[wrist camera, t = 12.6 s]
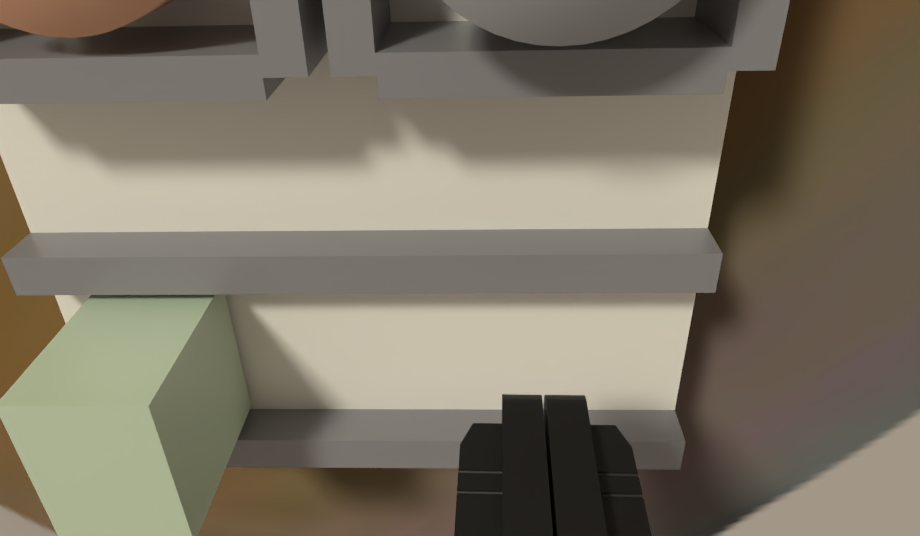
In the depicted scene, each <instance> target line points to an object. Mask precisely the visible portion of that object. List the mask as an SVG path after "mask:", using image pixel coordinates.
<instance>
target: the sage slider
mask: <svg viewBox="0 0 920 536" xmlns="http://www.w3.org/2000/svg"><path fill="white" fill-rule="evenodd" d="M250 408H251V402H250V398H249V394H248V389H247V385H246V381H245V377H244V372H243V368H242V364H241V360H240V355H239V351H238V347H237V343H236V338H235V334H234V330H233V326H232V321H231V317H230V313H229V309H228V304H227V300H226V296H225V295H91V296H90V297H89V298H88V299H87V300H86V301H85V303H84V304H83V305H82V306H81V307H80V308H79V310H78V311H77V312H76V313H75V314H74V315H73V316H72V318H71V319H70V320H69V321H68V322H67V323H66V324H65V326H64V327H63V328H62V329H61V330H60V331H59V333H58V334H57V335H56V336H55V337H54V338H53V339H52V341H51V342H50V343H49V344H48V345H47V346H46V347H45V349H44V350H43V351H42V352H41V353H40V354H39V355H38V357H37V358H36V359H35V360H34V361H33V362H32V364H31V365H30V366H29V367H28V368H27V369H26V370H25V372H24V373H23V374H22V375H21V376H20V377H19V378H18V380H17V381H16V382H15V383H14V384H13V385H12V387H11V388H10V389H9V390H8V391H7V392H6V393H5V395H4V396H3V397H2V398H1V399H0V418H1V420H2V422H3V424H4V426H5V428H6V430H7V432H8V434H9V436H10V438H11V440H12V442H13V444H14V446H15V449H16V451H17V453H18V455H19V457H20V459H21V461H22V463H23V465H24V467H25V469H26V471H27V473H28V475H29V477H30V479H31V481H32V483H33V485H34V487H35V490H36V492H37V494H38V496H39V498H40V500H41V502H42V504H43V506H44V508H45V510H46V512H47V514H48V516H49V518H50V520H51V522H52V524H53V526H54V528H55V530H56V533H57V535H58V536H198V534H199V531H200V529H201V527H202V524H203V522H204V519H205V517H206V514H207V512H208V510H209V507H210V505H211V502H212V500H213V497H214V495H215V493H216V490H217V488H218V485H219V483H220V481H221V478H222V476H223V473H224V471H225V468H226V466H227V464H228V461H229V459H230V456H231V454H232V451H233V449H234V447H235V444H236V442H237V439H238V437H239V435H240V432H241V430H242V427H243V425H244V422H245V420H246V418H247V415H248V413H249V410H250Z"/></svg>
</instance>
